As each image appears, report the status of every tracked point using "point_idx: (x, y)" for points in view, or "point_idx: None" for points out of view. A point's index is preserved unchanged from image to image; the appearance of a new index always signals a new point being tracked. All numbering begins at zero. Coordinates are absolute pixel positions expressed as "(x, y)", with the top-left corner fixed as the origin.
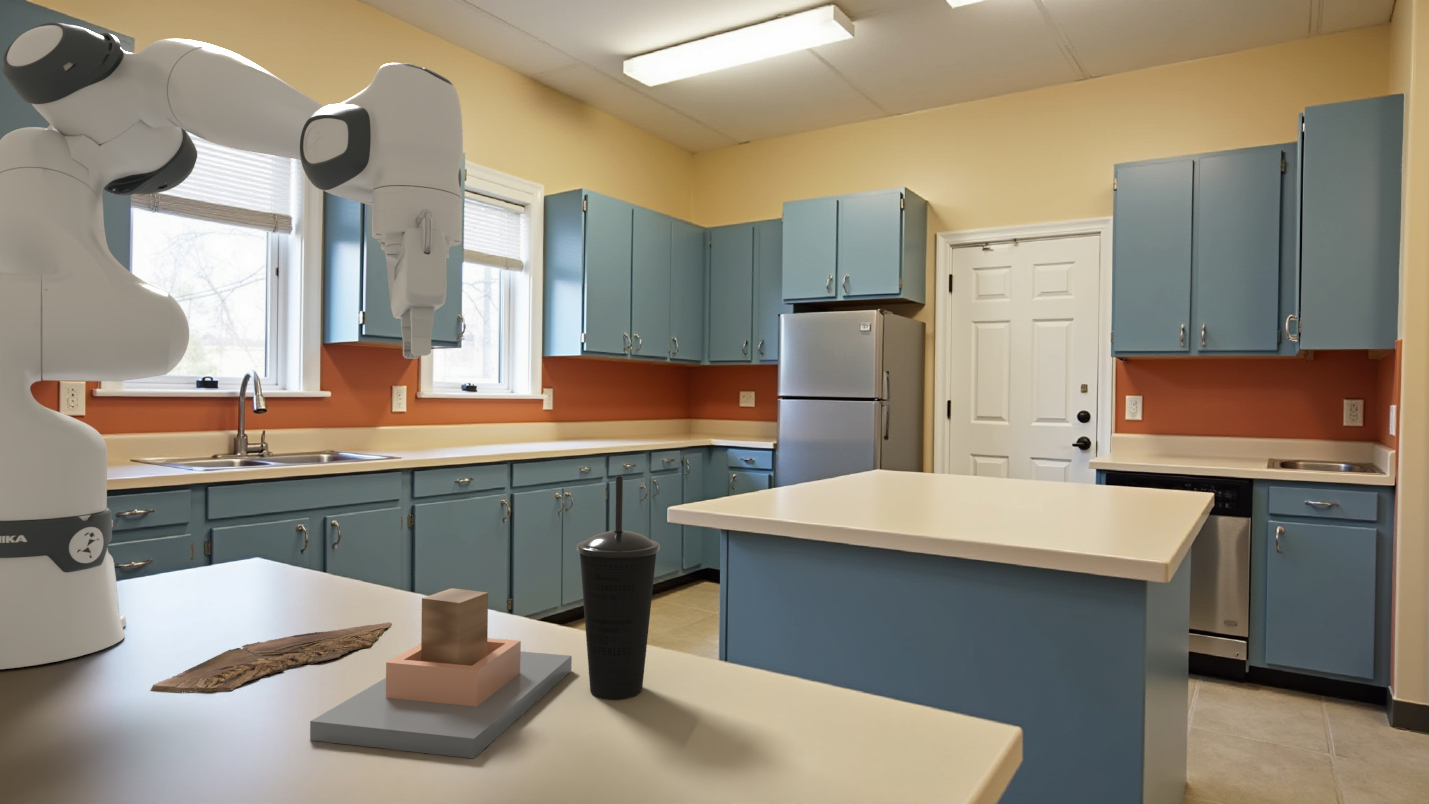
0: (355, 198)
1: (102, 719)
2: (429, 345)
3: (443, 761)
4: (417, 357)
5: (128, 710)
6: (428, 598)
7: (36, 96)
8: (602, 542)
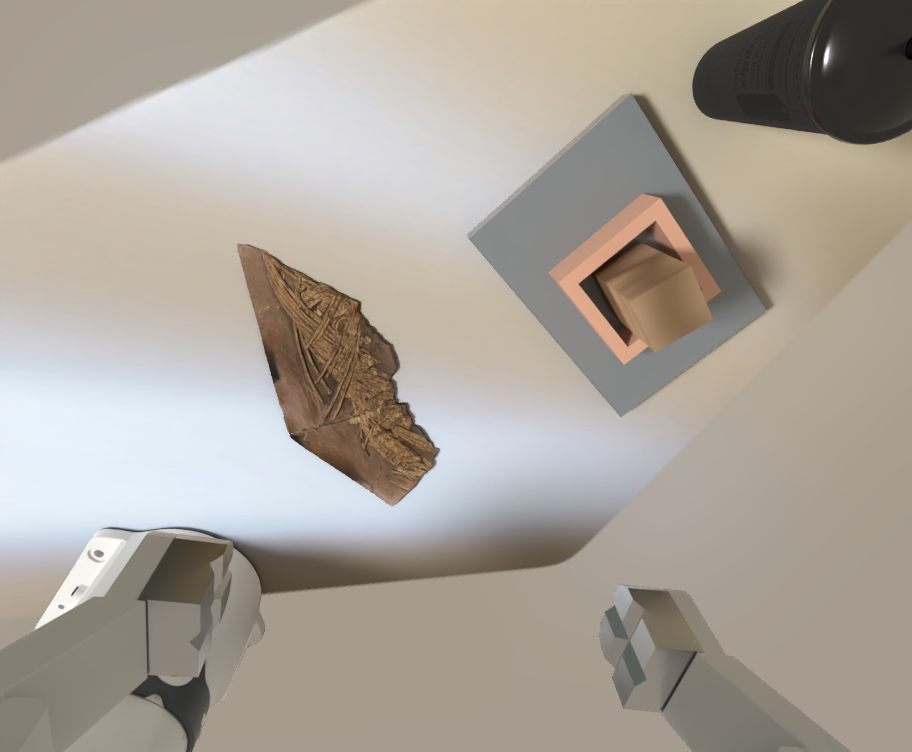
0: None
1: (452, 532)
2: (700, 623)
3: None
4: (232, 548)
5: (440, 517)
6: (663, 346)
7: None
8: (909, 109)
